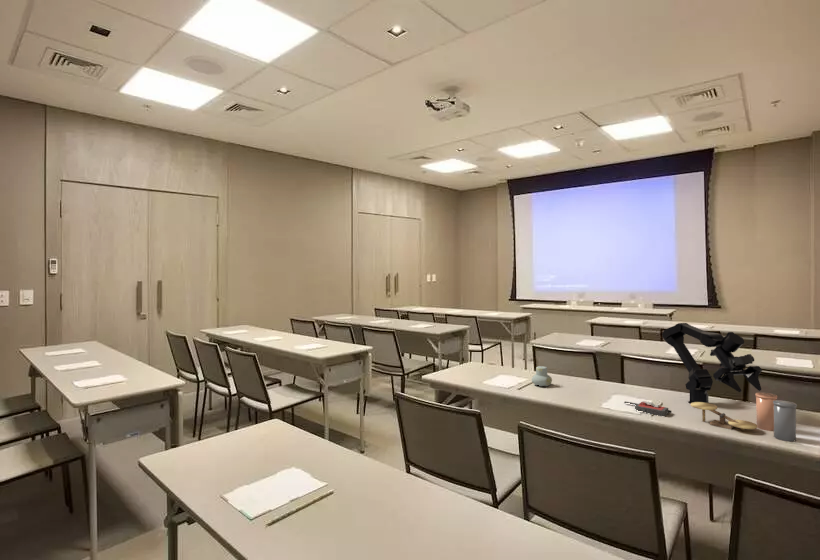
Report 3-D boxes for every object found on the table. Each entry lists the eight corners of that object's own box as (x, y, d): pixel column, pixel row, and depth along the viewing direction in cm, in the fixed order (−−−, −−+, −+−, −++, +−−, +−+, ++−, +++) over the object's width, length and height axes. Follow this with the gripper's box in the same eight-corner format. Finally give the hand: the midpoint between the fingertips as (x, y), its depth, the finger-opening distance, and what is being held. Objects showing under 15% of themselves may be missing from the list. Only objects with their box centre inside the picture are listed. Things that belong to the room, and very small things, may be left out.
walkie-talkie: (673, 413, 193) (625, 404, 207) (673, 403, 193) (624, 395, 207) (667, 418, 187) (618, 408, 201) (667, 408, 187) (617, 399, 201)
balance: (687, 421, 182) (687, 405, 182) (695, 416, 187) (695, 400, 187) (753, 436, 165) (753, 418, 165) (760, 430, 170) (760, 412, 170)
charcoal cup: (770, 437, 162) (771, 402, 162) (775, 433, 167) (775, 399, 166) (794, 443, 157) (794, 406, 157) (798, 438, 161) (798, 403, 161)
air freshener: (543, 388, 237) (543, 370, 237) (529, 386, 243) (529, 367, 243) (553, 384, 244) (553, 366, 244) (540, 382, 250) (539, 364, 250)
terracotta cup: (753, 427, 173) (753, 394, 173) (758, 423, 177) (758, 391, 177) (775, 432, 168) (774, 398, 167) (779, 428, 172) (779, 394, 172)
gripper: (718, 348, 182) (742, 381, 172) (757, 346, 185) (784, 378, 175) (703, 363, 190) (725, 396, 180) (741, 361, 193) (765, 393, 182)
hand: (750, 391), depth 179 cm, fingers open, 9 cm apart
